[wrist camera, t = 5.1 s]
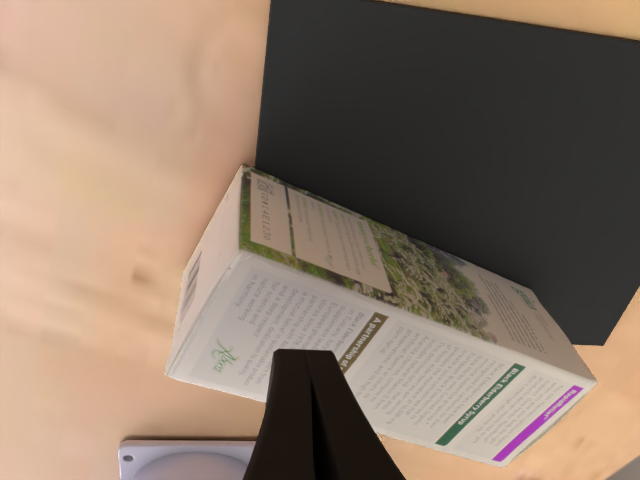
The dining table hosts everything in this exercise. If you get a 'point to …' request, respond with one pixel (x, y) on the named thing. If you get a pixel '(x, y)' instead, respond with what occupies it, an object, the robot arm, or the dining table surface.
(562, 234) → the rubber mat
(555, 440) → the dining table surface
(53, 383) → the dining table surface
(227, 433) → the dining table surface
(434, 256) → the syrup box
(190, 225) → the dining table surface
